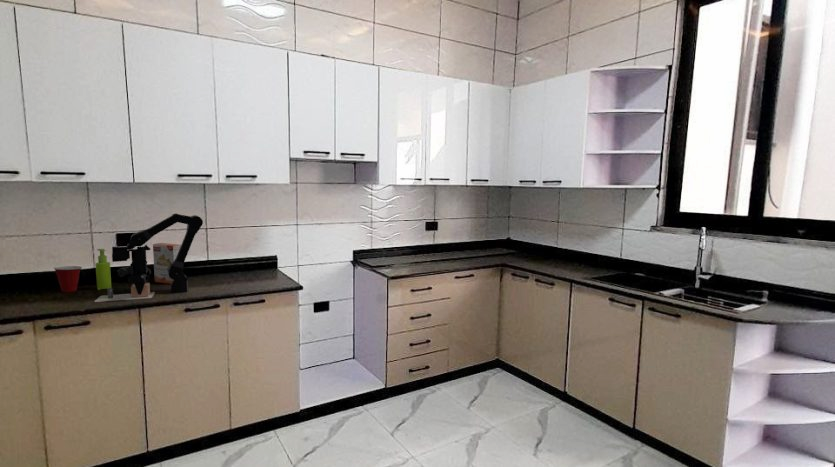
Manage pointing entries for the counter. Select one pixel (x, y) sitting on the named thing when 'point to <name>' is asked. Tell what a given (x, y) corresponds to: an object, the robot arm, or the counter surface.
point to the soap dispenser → (103, 272)
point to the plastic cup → (68, 277)
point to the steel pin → (110, 292)
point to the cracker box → (164, 260)
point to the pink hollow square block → (144, 293)
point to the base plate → (122, 297)
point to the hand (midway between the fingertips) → (140, 292)
